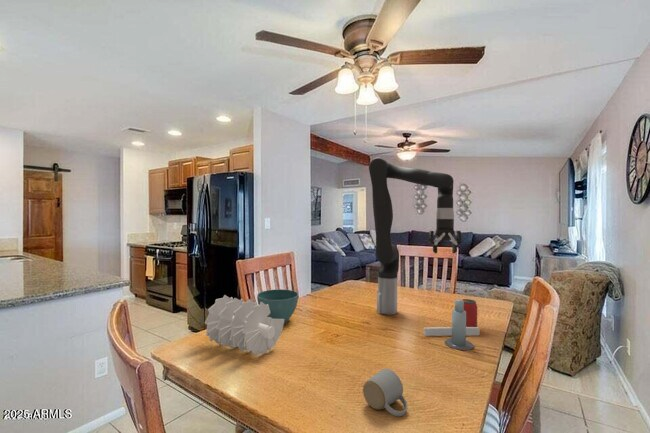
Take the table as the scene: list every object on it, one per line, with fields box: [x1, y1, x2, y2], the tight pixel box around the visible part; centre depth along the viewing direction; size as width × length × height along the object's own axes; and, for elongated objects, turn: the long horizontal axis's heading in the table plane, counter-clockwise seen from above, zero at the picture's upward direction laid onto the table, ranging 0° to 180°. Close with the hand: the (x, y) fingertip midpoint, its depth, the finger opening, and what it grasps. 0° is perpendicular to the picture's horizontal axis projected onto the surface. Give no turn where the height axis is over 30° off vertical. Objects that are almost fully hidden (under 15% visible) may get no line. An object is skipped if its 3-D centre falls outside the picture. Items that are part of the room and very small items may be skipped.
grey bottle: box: [451, 298, 467, 346], centre depth 120 cm, size 5×5×16 cm
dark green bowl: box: [256, 288, 299, 324], centre depth 145 cm, size 18×18×12 cm
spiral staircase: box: [204, 294, 285, 358], centre depth 117 cm, size 18×18×25 cm
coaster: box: [444, 337, 475, 351], centre depth 120 cm, size 10×10×1 cm
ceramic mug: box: [362, 368, 408, 417], centre depth 82 cm, size 11×8×8 cm
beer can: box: [462, 298, 478, 327], centre depth 135 cm, size 7×7×12 cm
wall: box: [423, 326, 480, 337], centre depth 129 cm, size 22×1×3 cm, turn 92°
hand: (444, 253), depth 149 cm, fingers open, 8 cm apart
